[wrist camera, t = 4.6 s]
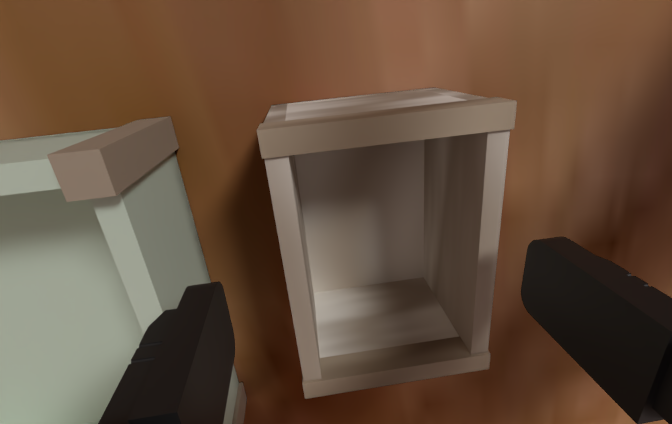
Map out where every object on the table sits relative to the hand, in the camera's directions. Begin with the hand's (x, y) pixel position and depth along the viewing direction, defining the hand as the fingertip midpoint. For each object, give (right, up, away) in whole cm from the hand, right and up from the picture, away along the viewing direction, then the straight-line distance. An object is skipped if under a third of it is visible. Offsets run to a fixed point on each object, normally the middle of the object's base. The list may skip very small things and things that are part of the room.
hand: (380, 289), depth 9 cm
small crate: (0, +2, +6) cm, 7 cm away
